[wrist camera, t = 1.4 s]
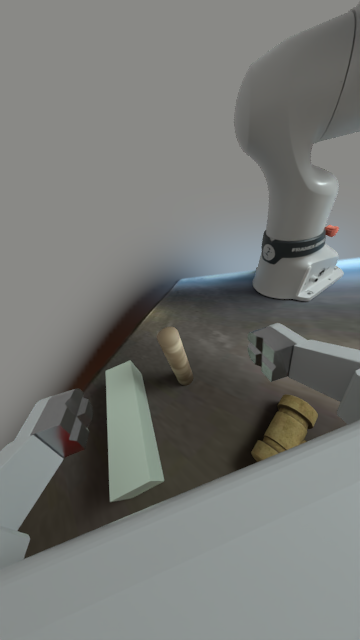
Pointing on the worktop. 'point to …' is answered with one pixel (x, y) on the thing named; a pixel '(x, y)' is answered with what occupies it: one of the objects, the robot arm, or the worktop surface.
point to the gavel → (286, 428)
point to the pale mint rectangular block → (130, 435)
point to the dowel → (175, 354)
